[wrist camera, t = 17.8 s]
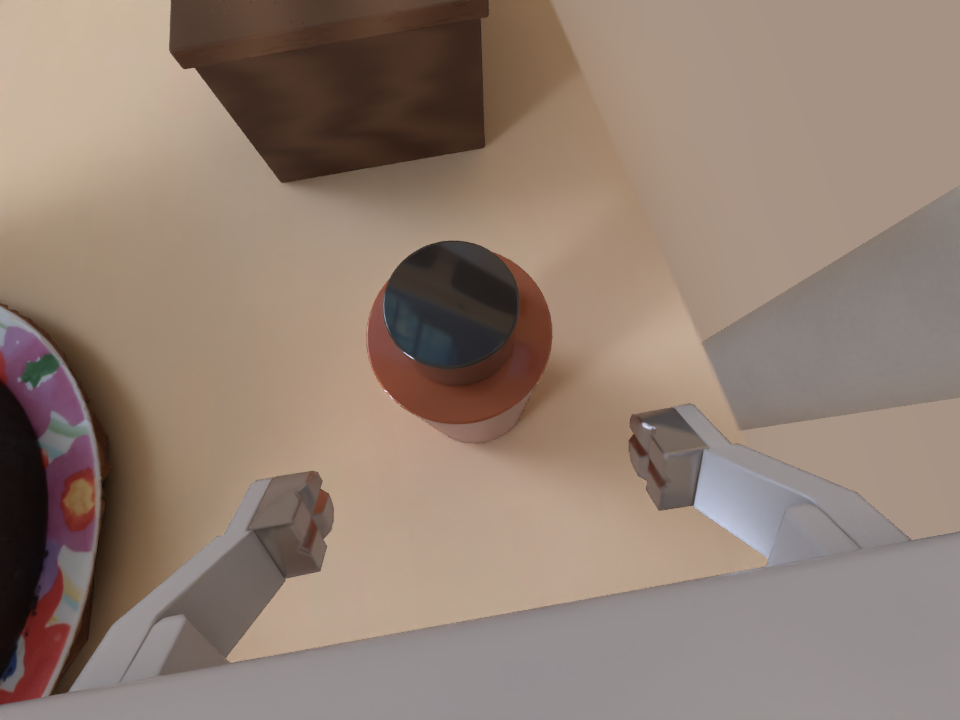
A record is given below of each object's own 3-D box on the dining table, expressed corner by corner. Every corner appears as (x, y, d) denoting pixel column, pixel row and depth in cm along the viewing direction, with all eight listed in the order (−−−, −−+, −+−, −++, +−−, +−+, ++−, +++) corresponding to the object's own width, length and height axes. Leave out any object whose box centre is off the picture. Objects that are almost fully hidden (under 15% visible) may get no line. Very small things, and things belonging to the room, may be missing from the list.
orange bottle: (516, 331, 21) (538, 187, 10) (537, 433, 19) (589, 391, 9) (415, 349, 21) (330, 223, 10) (430, 452, 19) (348, 434, 9)
